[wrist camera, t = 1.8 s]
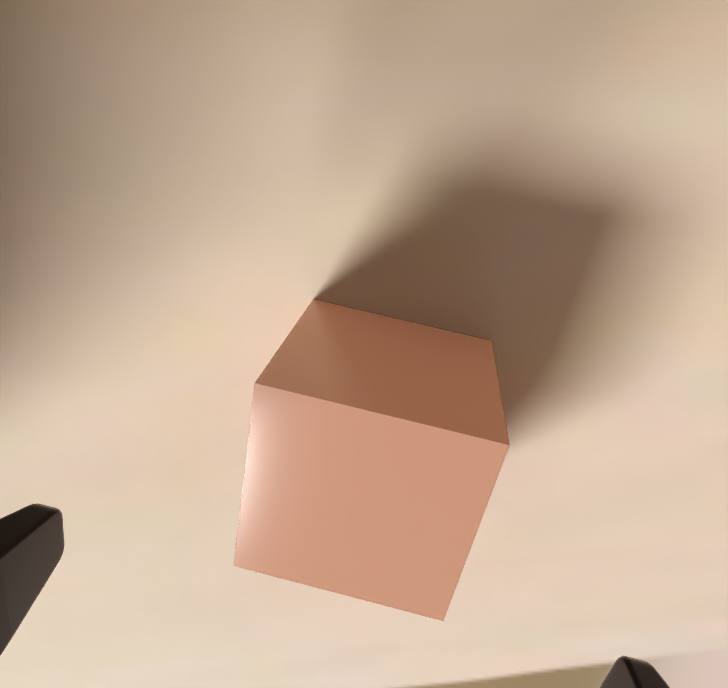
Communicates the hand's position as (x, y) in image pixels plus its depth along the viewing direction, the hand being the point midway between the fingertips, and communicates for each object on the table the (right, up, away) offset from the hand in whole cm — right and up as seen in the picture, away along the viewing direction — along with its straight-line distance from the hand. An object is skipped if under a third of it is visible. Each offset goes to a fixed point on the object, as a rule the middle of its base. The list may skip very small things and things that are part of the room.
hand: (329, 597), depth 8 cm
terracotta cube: (+1, +3, +6) cm, 7 cm away
